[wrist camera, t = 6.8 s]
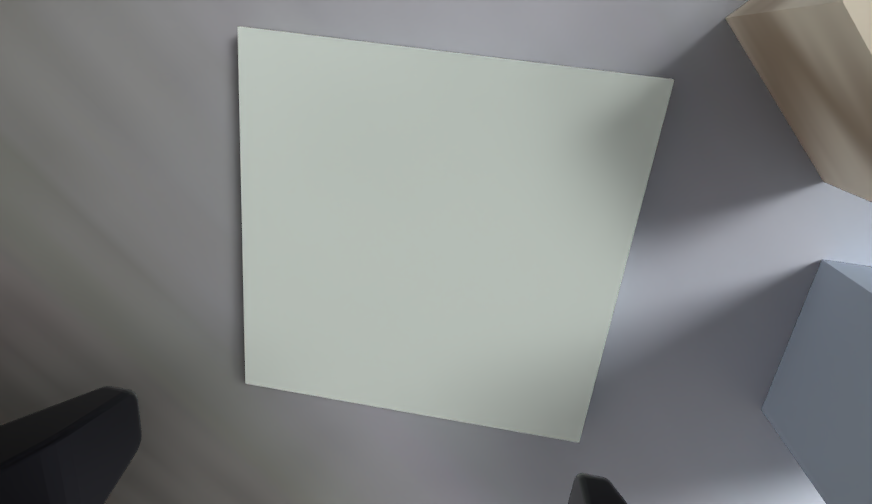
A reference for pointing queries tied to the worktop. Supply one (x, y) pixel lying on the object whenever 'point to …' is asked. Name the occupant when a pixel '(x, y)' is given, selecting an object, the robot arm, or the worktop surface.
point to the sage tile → (437, 225)
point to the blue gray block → (829, 385)
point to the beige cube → (818, 78)
